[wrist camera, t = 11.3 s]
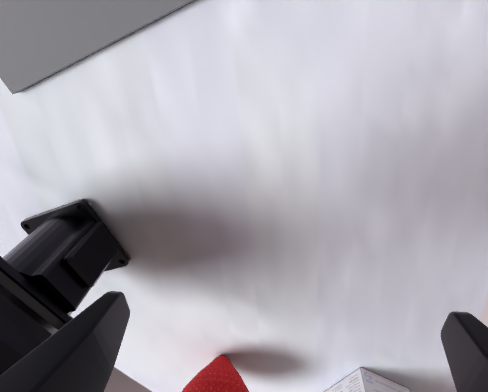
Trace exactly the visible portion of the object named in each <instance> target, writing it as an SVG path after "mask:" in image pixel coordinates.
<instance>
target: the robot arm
mask: <svg viewBox="0 0 488 392" xmlns="http://www.w3.org/2000/svg"><path fill="white" fill-rule="evenodd" d="M81 206H82V207H83V208H82V207H81ZM21 227H22V228H23V229H24V230H25V231H26V232H27V234H28V236H27V237H26V238H25V239H24V240H23V241H21V242H20V243H19V244H18V245H17V246H16V247H15V248H13V249H12V250H11V251H10V252H9V253H8V254H7V255H5V256H4V257H3V258H2V257H1V256H0V392H104V389H105V387H106V384H107V382H108V380H109V377H110V375H111V373H112V370H113V367H114V364H115V361H116V358H117V355H118V352H119V349H120V346H121V342H122V339H123V336H124V333H125V330H126V327H127V323H128V320H129V316H130V310H129V307H128V304H127V301H126V298H125V296H124V294H123V293H122V292H116V291H110V292H107V293H105V294H104V295H103V296H102V297H100V298H99V299H98V300H96V301H95V302H94V303H93V304H91V305H90V306H89V307H88V308H86V309H85V310H84V311H82V312H81V313H80V314H79V315H77V316H76V317H75V318H72V317H71V316H70V315H71V313H72V312H73V311H75V310H76V309H77V308H78V306H79V305H80V303H81V302H82V300H83V299H84V297H85V296H86V295H87V293H88V292H89V290H90V289H91V287H93V286H94V285H95V283H96V282H97V280H98V279H99V277H100V276H101V275H102V273H103V272H104V271H108V270H112V269H116V268H119V267H123V266H126V265H127V264H128V263H129V261H130V258H129V256H128V255H127V254H126V252H125V251H124V250H123V248H122V247H121V246H120V245H119V243H118V242H117V241H116V239H115V238H114V237H113V235H112V234H111V233H110V231H109V230H108V229H107V227H106V226H105V225H104V223H103V222H102V221H101V219H100V218H99V217H98V216H97V214H96V213H95V212H94V210H93V209H92V208H91V206H90V205H89V204H88V203H87V202H86V201H84V200H78V201H75V202H72V203H70V204H67V205H64V206H61V207H58V208H55V209H52V210H50V211H47V212H44V213H41V214H38V215H35V216H32V217H30V218H27V219H25V220H24V221H23V222H21ZM441 340H442V343H443V347H444V350H445V353H446V357H447V360H448V363H449V367H450V370H451V373H452V377H453V380H454V383H455V387H456V390H457V392H488V327H487V326H485V325H484V324H483V323H482V322H480V321H479V320H478V319H477V318H476V317H474V316H473V315H472V314H470V313H467V312H451V313H449V315H448V317H447V319H446V321H445V323H444V326H443V328H442V330H441Z"/></svg>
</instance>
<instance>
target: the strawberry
mask: <svg viewBox="0 0 488 392" xmlns="http://www.w3.org/2000/svg"><path fill="white" fill-rule="evenodd" d="M182 392H249V391H248V389H247V387H246V385H245V383H244V382H243V380H242V378H241V376H240V375H239V373H238V372H237V371H236V369H235V368H234V367H233V365H232V363H231V361H230V360H229V359H228V358H227V357H225V356H219V357H217V358H215V359H214V360H213V361H212V362H211V363H210V364H209V365H207V366H206V367H205V368H204V369H202V370H201V371H200V372H199V373H198V374H197V375H196V376H195V377H194V378H193V379H192V380H191V381H190V382H189V383H188V384H187V385H186V386H185V388H184V389H183V391H182Z"/></svg>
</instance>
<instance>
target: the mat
mask: <svg viewBox="0 0 488 392" xmlns="http://www.w3.org/2000/svg"><path fill="white" fill-rule="evenodd" d="M193 1H195V0H0V78H1V79H2V81H3V82H4V83H5V85H6V86H7V87H8V89H9V90H10V91H11V93H12V94H15V93H18V92H20V91H22V90H24V89H26V88H28V87H30V86H32V85H34V84H36V83H38V82H40V81H41V80H43V79H45V78H47V77H49V76H51V75H53V74H55V73H57V72H59V71H61V70H62V69H64V68H66V67H68V66H70V65H72V64H74V63H76V62H78V61H80V60H82V59H84V58H85V57H87V56H89V55H91V54H93V53H95V52H97V51H99V50H101V49H103V48H105V47H107V46H108V45H110V44H112V43H114V42H116V41H118V40H120V39H122V38H124V37H126V36H128V35H129V34H131V33H133V32H135V31H137V30H139V29H141V28H143V27H145V26H147V25H149V24H151V23H152V22H154V21H156V20H158V19H160V18H162V17H164V16H166V15H168V14H170V13H172V12H173V11H175V10H177V9H179V8H181V7H183V6H185V5H187V4H189V3H191V2H193Z"/></svg>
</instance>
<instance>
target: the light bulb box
mask: <svg viewBox="0 0 488 392" xmlns="http://www.w3.org/2000/svg"><path fill="white" fill-rule="evenodd" d="M325 392H410V390H409V389H408V388H406V387H403V386H401V385H399V384H397V383H395V382H392V381H390V380H388V379H386V378H384V377H381V376H379V375H377V374H375V373H372V372H370V371H368V370H366V369H364V368H361V367H360V368H359V369H358V370H356V371H355V372H353V373H352V374H350V375H349V376H347V377H346V378H344V379H343V380H341V381H340V382H338V383H337V384H335V385H334V386H332V387H331V388H329V389H328V390H326V391H325Z"/></svg>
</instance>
